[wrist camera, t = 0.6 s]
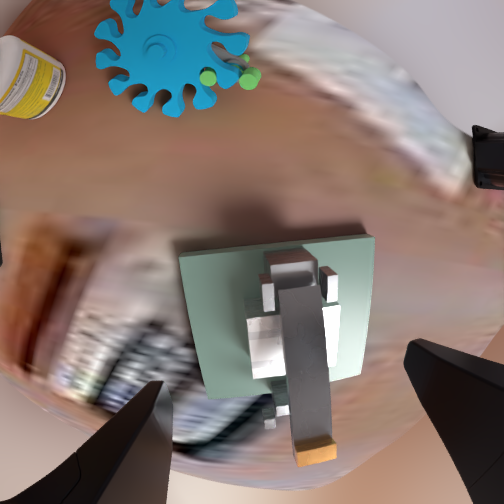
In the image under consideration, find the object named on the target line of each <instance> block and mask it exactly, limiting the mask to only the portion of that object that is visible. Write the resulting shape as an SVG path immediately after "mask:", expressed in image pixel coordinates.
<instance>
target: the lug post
mask: <svg viewBox="0 0 504 504" xmlns="http://www.w3.org/2000/svg"><path fill="white" fill-rule="evenodd" d="M270 384H271V394H272V398H273V402H274V406H275V410H276V415H277V416H283V415H288V414H289V404H288V394H287V384H286V379H285V380H279V381H272V382H270ZM262 413H263V421H264V426H265V429H271V428H276V426H275V416H274V412H273V408H267V409H262Z"/></svg>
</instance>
